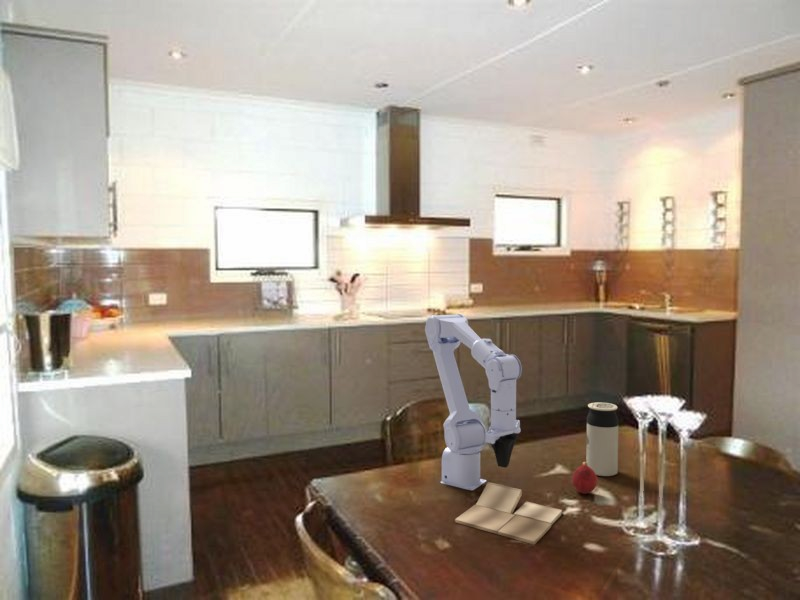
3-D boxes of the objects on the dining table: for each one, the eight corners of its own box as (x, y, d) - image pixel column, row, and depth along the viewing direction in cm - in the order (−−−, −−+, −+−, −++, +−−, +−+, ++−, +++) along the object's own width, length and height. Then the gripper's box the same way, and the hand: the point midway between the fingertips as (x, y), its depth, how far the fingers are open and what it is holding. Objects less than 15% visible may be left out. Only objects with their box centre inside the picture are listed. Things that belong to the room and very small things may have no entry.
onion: (598, 500, 138) (599, 467, 138) (573, 498, 139) (573, 465, 139) (595, 490, 144) (595, 459, 143) (571, 489, 145) (571, 457, 145)
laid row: (454, 524, 126) (454, 519, 126) (474, 509, 134) (474, 504, 134) (534, 547, 116) (534, 541, 116) (551, 529, 123) (551, 524, 123)
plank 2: (513, 518, 129) (513, 513, 129) (526, 506, 134) (526, 501, 134) (550, 528, 124) (550, 522, 124) (562, 515, 130) (562, 510, 130)
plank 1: (477, 508, 134) (475, 504, 134) (489, 485, 139) (488, 481, 139) (511, 517, 129) (509, 513, 129) (522, 493, 134) (521, 489, 134)
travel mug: (620, 469, 158) (621, 404, 157) (613, 479, 151) (614, 410, 150) (590, 464, 162) (591, 400, 161) (582, 473, 156) (583, 406, 155)
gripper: (506, 417, 126) (505, 479, 127) (532, 403, 138) (531, 460, 139) (476, 413, 130) (476, 472, 131) (504, 400, 142) (504, 454, 143)
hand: (503, 466), depth 135 cm, fingers closed
